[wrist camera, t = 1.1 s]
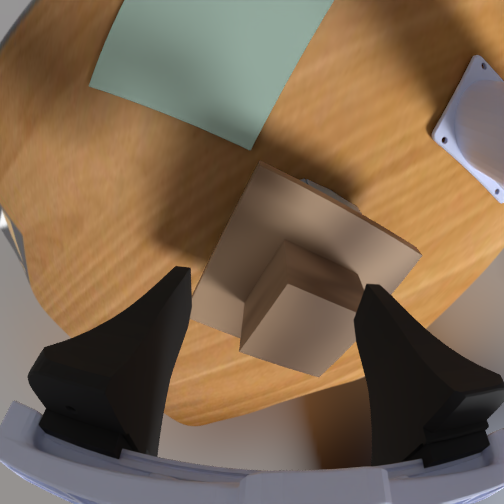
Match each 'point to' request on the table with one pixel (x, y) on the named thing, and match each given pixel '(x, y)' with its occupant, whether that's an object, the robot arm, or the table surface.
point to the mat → (207, 59)
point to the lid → (295, 272)
